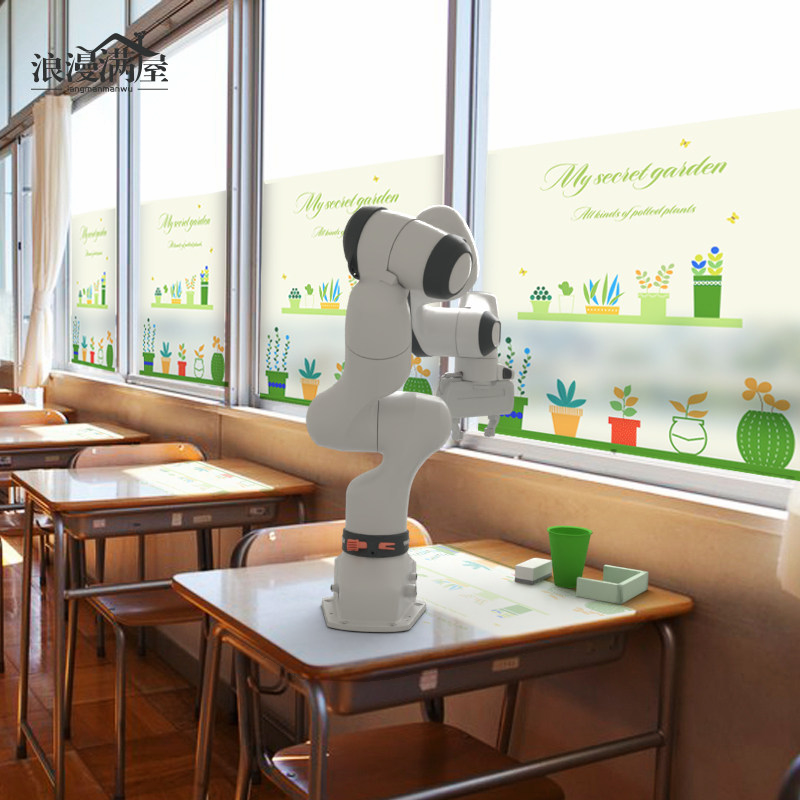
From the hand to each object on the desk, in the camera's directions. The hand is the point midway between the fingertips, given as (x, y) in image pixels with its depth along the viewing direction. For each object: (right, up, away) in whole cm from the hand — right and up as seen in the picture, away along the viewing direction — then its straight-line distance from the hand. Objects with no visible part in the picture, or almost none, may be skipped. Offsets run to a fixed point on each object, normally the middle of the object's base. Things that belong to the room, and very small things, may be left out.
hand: (473, 438), depth 215 cm
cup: (+18, -29, -7) cm, 35 cm away
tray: (+26, -30, -12) cm, 41 cm away
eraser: (+12, -29, -3) cm, 31 cm away
